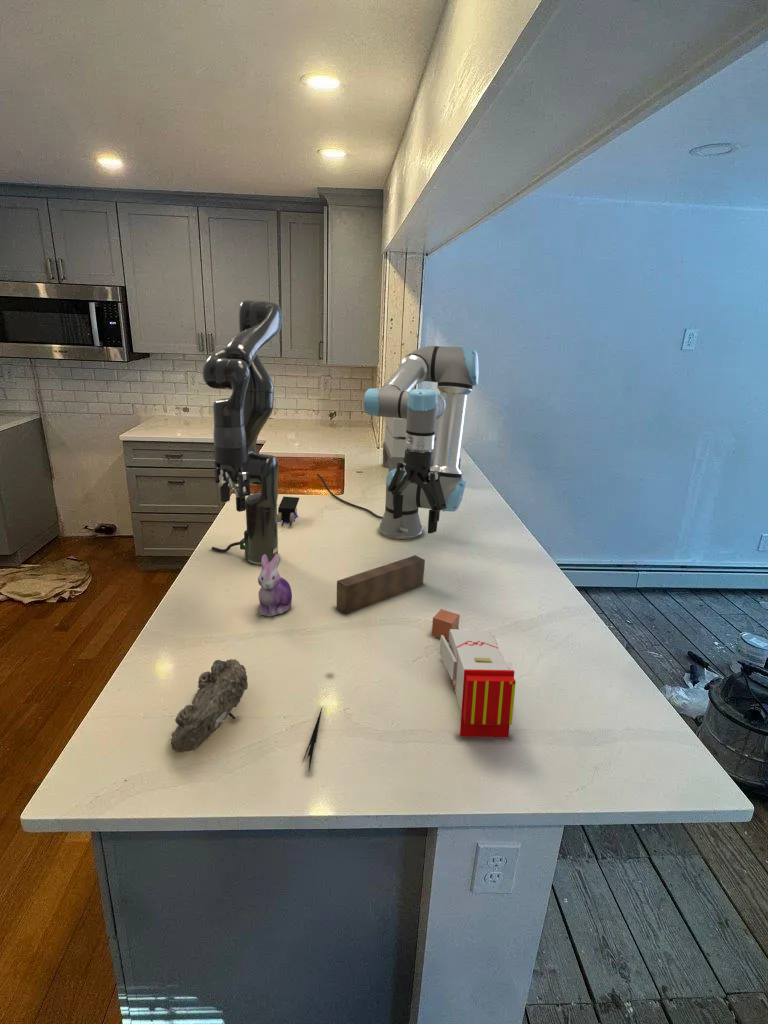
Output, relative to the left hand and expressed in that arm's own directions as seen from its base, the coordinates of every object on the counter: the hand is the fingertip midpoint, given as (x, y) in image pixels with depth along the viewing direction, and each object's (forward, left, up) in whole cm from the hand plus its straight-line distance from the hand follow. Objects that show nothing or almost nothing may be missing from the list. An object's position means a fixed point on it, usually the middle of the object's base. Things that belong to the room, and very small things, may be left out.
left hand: (233, 506), depth 143 cm
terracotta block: (+56, -1, -26) cm, 62 cm away
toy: (+64, -22, -26) cm, 73 cm away
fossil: (+18, -44, -26) cm, 54 cm away
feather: (+37, -39, -26) cm, 60 cm away
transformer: (+25, +139, -26) cm, 144 cm away
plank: (+37, +13, -26) cm, 47 cm away
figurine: (+12, -2, -26) cm, 29 cm away
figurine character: (-9, +57, -26) cm, 64 cm away
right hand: (+43, +21, -7) cm, 49 cm away
